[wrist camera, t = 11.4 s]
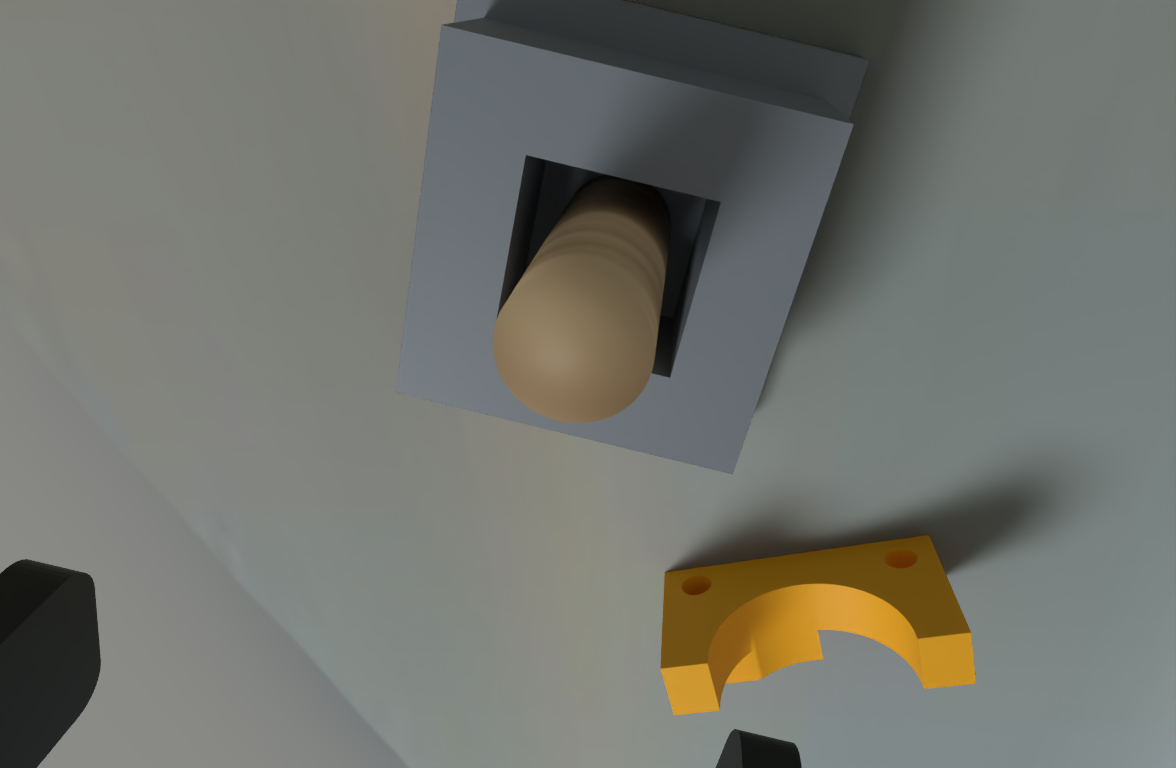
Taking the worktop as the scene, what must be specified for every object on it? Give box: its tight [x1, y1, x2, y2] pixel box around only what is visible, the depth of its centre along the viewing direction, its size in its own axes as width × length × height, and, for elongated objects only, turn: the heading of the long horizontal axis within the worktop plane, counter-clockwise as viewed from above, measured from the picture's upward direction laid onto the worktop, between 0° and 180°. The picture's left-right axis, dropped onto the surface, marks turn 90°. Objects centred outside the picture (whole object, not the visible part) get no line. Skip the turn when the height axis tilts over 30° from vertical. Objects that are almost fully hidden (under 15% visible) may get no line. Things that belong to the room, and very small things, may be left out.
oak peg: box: [493, 174, 672, 423], centre depth 26 cm, size 4×4×12 cm
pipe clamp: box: [661, 535, 976, 715], centre depth 37 cm, size 12×4×6 cm, turn 105°
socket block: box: [396, 0, 870, 474], centre depth 30 cm, size 15×14×7 cm
